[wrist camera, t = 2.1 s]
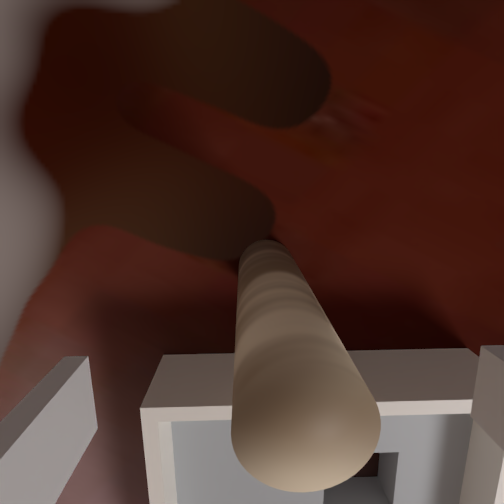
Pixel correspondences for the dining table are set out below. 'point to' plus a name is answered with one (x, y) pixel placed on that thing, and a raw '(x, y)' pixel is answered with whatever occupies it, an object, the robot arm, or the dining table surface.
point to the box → (355, 488)
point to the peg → (294, 382)
